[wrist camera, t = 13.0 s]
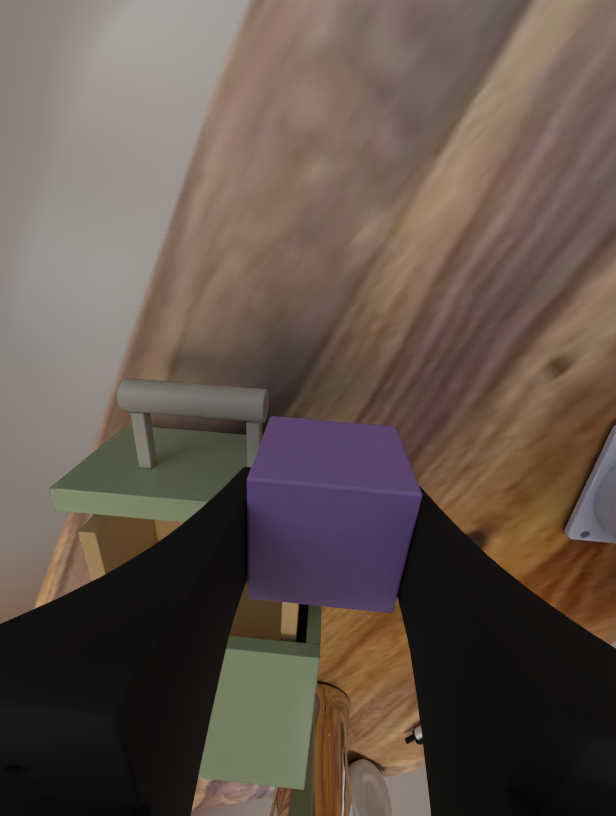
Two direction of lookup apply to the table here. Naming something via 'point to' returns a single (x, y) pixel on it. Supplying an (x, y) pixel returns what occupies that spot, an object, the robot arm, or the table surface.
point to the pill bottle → (368, 789)
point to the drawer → (168, 482)
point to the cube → (329, 514)
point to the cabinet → (265, 708)
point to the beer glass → (323, 763)
